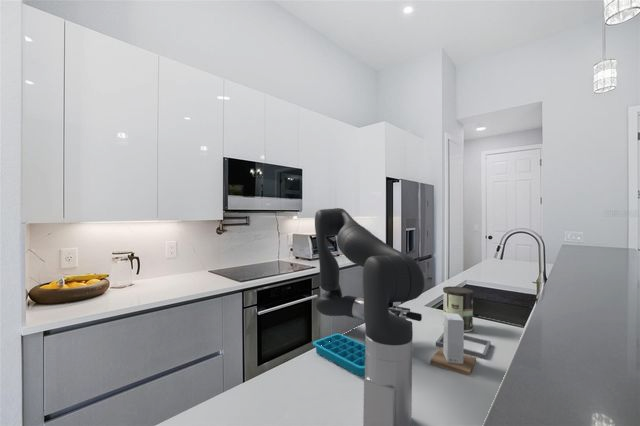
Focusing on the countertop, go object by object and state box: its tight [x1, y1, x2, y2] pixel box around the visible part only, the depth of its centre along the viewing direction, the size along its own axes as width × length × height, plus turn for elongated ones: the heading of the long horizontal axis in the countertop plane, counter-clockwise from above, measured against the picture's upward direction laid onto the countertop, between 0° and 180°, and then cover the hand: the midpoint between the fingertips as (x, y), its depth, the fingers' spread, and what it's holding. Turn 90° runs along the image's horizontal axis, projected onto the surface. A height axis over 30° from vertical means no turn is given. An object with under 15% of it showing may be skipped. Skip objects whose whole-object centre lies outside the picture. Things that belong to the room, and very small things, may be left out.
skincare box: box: [442, 313, 465, 364], centre depth 84 cm, size 6×4×12 cm
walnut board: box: [429, 347, 477, 377], centre depth 83 cm, size 10×10×1 cm
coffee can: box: [442, 286, 474, 333], centre depth 110 cm, size 10×10×14 cm
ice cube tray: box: [312, 333, 365, 377], centre depth 85 cm, size 12×20×3 cm, turn 42°
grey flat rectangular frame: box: [435, 332, 492, 360], centre depth 95 cm, size 12×14×1 cm
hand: (416, 321), depth 90 cm, fingers open, 8 cm apart
